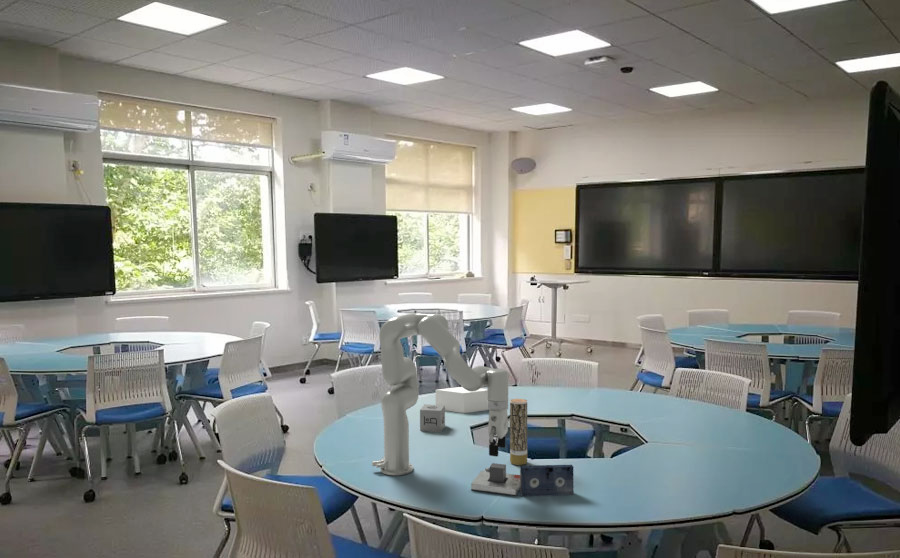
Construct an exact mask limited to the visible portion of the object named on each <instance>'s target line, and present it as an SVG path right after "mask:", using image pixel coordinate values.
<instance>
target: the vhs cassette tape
mask: <svg viewBox="0 0 900 558" xmlns="http://www.w3.org/2000/svg"><path fill="white" fill-rule="evenodd" d="M519 471H520V473H519V475H520V490H519V493H520V495H521V497H541V496H543V497H544V496H545V497H546V496H547V497H549V496H570V495H571V496H573V495H574V492H575V491H574V487H575V486H574V466H573V464H543V465H541V464H540V465H539V464H538V465H519Z"/></svg>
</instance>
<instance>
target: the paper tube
mask: <svg viewBox="0 0 900 558" xmlns="http://www.w3.org/2000/svg"><path fill="white" fill-rule="evenodd" d="M509 458H510V459H509V462H510V463H511V464H512V465H516V466H525V465H526V464H527V462H528V400H527V399H525V398H512V399H510V401H509Z"/></svg>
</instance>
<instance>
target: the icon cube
mask: <svg viewBox="0 0 900 558" xmlns="http://www.w3.org/2000/svg"><path fill="white" fill-rule="evenodd" d="M445 426H446V411H445V405H436V404H426V403H425V404H424V405H422V407H421V408H420V409H419V431H420V432H432V433H433V432H435V433H439V432H440V433H441V432H442V431H443V429H444V428H445Z"/></svg>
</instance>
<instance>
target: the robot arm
mask: <svg viewBox="0 0 900 558" xmlns="http://www.w3.org/2000/svg"><path fill="white" fill-rule="evenodd" d="M378 336H379V337H378V339H379V347H380V357H381V358H380V359H381V371H382V379H383V382H384V383H386V385H388V386H390V387H391V386H392V387H393V386H396V387H394V388H392V389H389V390H388V391H387V392H385V393H384V395H383V396H382V398H381V404H380V405H381V410H382V416H383V440H384V441H383V445H384V446H383V453H384V454H383V455H384V456H383V457H382V459H380V460H372V462H371V463H372V464H371V465H372V467H376V468H380V472H381V473H382V474H384V475H388V476H403V475H407V474H410V473H411V472H413V470H414V465H413V464H412V463H410V426H409V418H408V415H407V410H409V409H411V408H412V407H414V406H416V404H417V402H418V399H419V383H418V371H417V367H416V364H415V363H414V361H413V359H410V358H409V357H406V356H404V348H403V344H402V342H401V339H404V338H408V337H412V336H421V337H422V338H423V340H425V342H426V343H428V345H429V346H430V347H432V348H433V350H434V351H435V352H436V353H437V354H438V355H439V356H440V357H441V358H442V360H443V363H444V365H445V368H446V370H447V371H448V373H449V375H450V376H451V377H452V378H453V380H455V381H456V382H457V384H458V385H460V387H463V388H464V389H466V390H468V391H477V390H479V389H483V388H485V387H487V388H486V389H487V408H488V409H489V411H488V412H489V413H488V437H489V439H488V455H489V456H491V457H499V448H506V434H507V433H508V432H509V424H508V422H509V421H508V409H509V372H508V370H506V369H504V368H492V367H488V366H484V365H478V366H475V367H473V368H472V367H470V366H469V364H468V363H467V362H466V361H465V360H464V358H463V357H462V354H461V351H460V348H461V347H460V346H461V343H460V341H459V340H458V339H457V338H456V337H455V336H454V335H453V334H452V332H450V331H449V322H448V319H447V318H446V317H445V316H444V315H442V314H439V313H435V314H434V313H431V314H430V313H407V314H402V315H397V316H394V317H392V318H389V319H388V320H386V321H385V322H384V323H383V325H381V327H380V330H379V335H378Z"/></svg>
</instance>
